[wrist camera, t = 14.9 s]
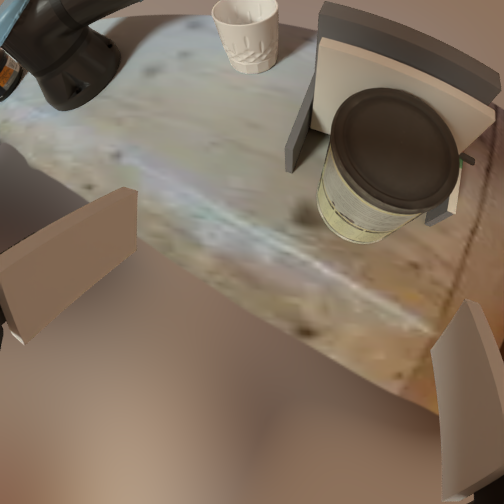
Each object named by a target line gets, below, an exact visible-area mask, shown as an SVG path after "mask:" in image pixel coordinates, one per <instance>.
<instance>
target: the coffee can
mask: <svg viewBox="0 0 504 504" xmlns="http://www.w3.org/2000/svg"><path fill="white" fill-rule="evenodd" d="M459 169H460V161H459V154H458V149H457V146H456V143H455V140H454V137H453V135H452V133H451V131H450V129H449V128H448V126H447V125H446V123H445V122H444V120H443V119H442V118H441V117H440V116H439V115H438V114H437V113H436V112H435V111H434V110H433V109H432V108H431V107H430V106H429V105H427V104H426V103H425V102H423V101H422V100H420V99H419V98H417V97H415V96H413V95H411V94H408V93H406V92H403V91H400V90H396V89H391V88H370V89H365V90H362V91H359V92H357V93H355V94H353V95H351V96H350V97H348V98H347V99H346V100H345V101H344V102H343V103H342V104H341V105H340V107H339V108H338V110H337V111H336V113H335V116H334V118H333V121H332V125H331V132H330V142H329V146H328V150H327V154H326V159H325V163H324V167H323V171H322V174H321V179H320V181H319V184H318V188H317V205H318V209H319V212H320V215H321V217H322V219H323V220H324V222H325V224H326V225H327V226H328V228H329V229H330V230H331V231H333V232H334V233H335V234H336V235H338V236H339V237H341V238H342V239H344V240H347V241H349V242H353V243H358V244H370V243H375V242H378V241H380V240H383V239H384V238H386V237H387V236H389V235H390V234H391V233H393V232H394V231H396V230H398V229H399V228H401V227H402V226H404V225H406V224H407V223H409V222H410V221H412V220H414V219H415V218H417V217H418V216H420V215H421V214H423V213H424V212H427V211H430V210H432V209H434V208H436V207H437V206H439V205H440V204H442V203H443V202H444V201H445V200H446V199H447V198H448V197H449V196H450V194H451V193H452V191H453V189H454V188H455V185H456V183H457V180H458V176H459Z"/></svg>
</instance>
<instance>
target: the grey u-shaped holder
mask: <svg viewBox="0 0 504 504" xmlns="http://www.w3.org/2000/svg"><path fill="white" fill-rule="evenodd" d="M322 37H324V38H328V39H332V40H335V41H339V42H342V43H346V44H349V45H352V46H356V47H359V48H362V49H365V50H368V51H371V52H374V53H377V54H379V55H382V56H385V57H388V58H390V59H393V60H395V61H398V62H400V63H403V64H405V65H408V66H410V67H413V68H415V69H417V70H419V71H422V72H424V73H426V74H428V75H430V76H433V77H435V78H437V79H439V80H441V81H443V82H445V83H447V84H449V85H451V86H453V87H455V88H457V89H459V90H460V91H462V92H464V93H466V94H468V95H469V96H471V97H473V98H475V99H476V100H478V101H480V102H482V103H483V104H485V105H487V106H488V105H489V104H490V103H491V101H492V100H493V99H494V98H495V97H496V96H497V94H499V93H500V91H501V84H500V77H499V73H497V72H496V71H494V70H492V69H491V68H489V67H487V66H486V65H484V64H483V63H481V62H479V61H477V60H476V59H474V58H472V57H470V56H469V55H467V54H465V53H463V52H461V51H459V50H458V49H456V48H454V47H452V46H450V45H448V44H446V43H444V42H442V41H440V40H437V39H435V38H433V37H431V36H429V35H426V34H424V33H422V32H419V31H417V30H414V29H412V28H410V27H407V26H405V25H402V24H400V23H397V22H394V21H391V20H389V19H386V18H383V17H380V16H377V15H374V14H371V13H368V12H365V11H361V10H358V9H354V8H351V7H347V6H343V5H339V4H335V3H332V2H327V1H325V2H324V4H323V6H322V8H321V10H320V12H319V20H318V34H317V48H316V61H315V72H314V75H313V77H312V80H311V83H310V85H309V88H308V90H307V93H306V95H305V98H304V100H303V103H302V105H301V108H300V110H299V113H298V115H297V118H296V121H295V123H294V126H293V128H292V131H291V133H290V136H289V138H288V141H287V143H286V146H285V169H286V172H289V173H293V170H294V167H295V165H296V162H297V159H298V156H299V154H300V151H301V148H302V146H303V143H304V140H305V137H306V135H307V132H308V129H309V126H310V124H311V119H312V110H313V101H314V91H315V81H316V71H317V60H318V48H319V43H320V41H321V39H322ZM463 153H464V151H463ZM459 161H460V169H459V176H458V180H457V183H456V185H455V188H454V189H453V191H452V193H451V194H450V196H449V197H448V198H447V199H446V200H445V201H444V202H443V203H442V204H440V205H439V206H437V207H436V208H434V209H432V210H430V211H427V215H426V220H425V224H426V225H428V226H432V225H434V224H436V223H438V222H440V221H442V220H444V219H446V218H448V217H449V216H451V215H453V214H455V213H456V207H457V200H458V193H459V186H460V178H461V169H462V165H463V160H461V159H460V158H459Z"/></svg>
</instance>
